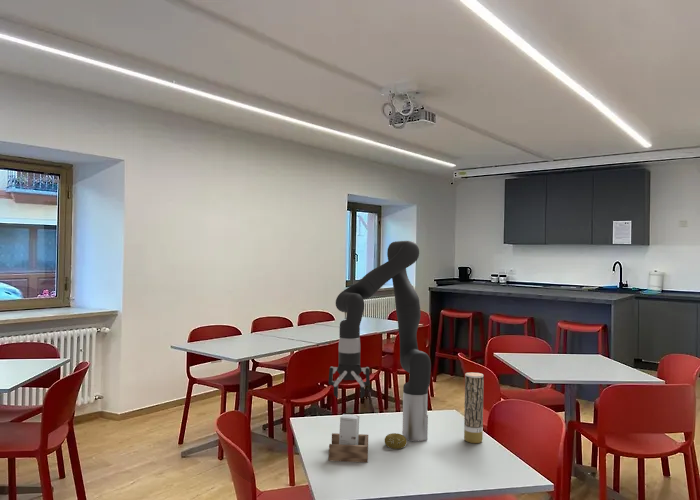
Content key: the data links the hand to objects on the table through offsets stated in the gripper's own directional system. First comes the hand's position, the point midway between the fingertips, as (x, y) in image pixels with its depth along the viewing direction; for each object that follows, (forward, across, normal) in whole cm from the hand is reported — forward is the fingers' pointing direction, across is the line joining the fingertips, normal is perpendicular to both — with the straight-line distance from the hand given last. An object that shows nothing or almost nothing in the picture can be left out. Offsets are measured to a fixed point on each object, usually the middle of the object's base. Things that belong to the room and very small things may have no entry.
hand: (349, 397), depth 181 cm
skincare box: (+19, 0, 0) cm, 19 cm away
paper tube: (+21, -46, -19) cm, 54 cm away
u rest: (+20, 0, 0) cm, 20 cm away
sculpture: (+20, -16, -10) cm, 28 cm away
